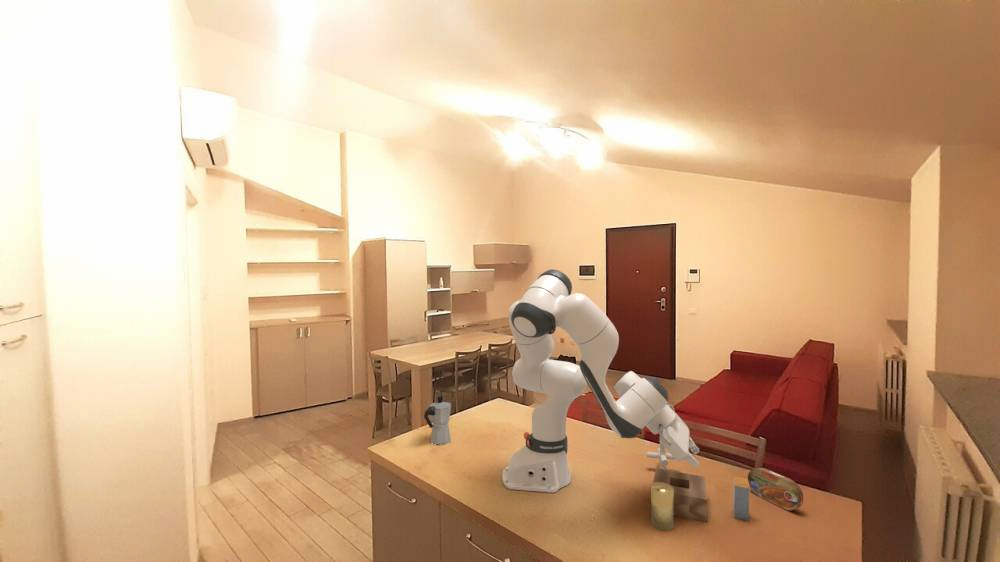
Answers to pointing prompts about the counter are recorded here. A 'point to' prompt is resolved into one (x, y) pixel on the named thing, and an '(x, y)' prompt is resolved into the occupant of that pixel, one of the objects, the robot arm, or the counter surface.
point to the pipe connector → (661, 456)
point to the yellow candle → (662, 506)
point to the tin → (775, 488)
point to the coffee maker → (439, 421)
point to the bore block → (686, 493)
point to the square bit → (741, 498)
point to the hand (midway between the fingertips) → (697, 458)
